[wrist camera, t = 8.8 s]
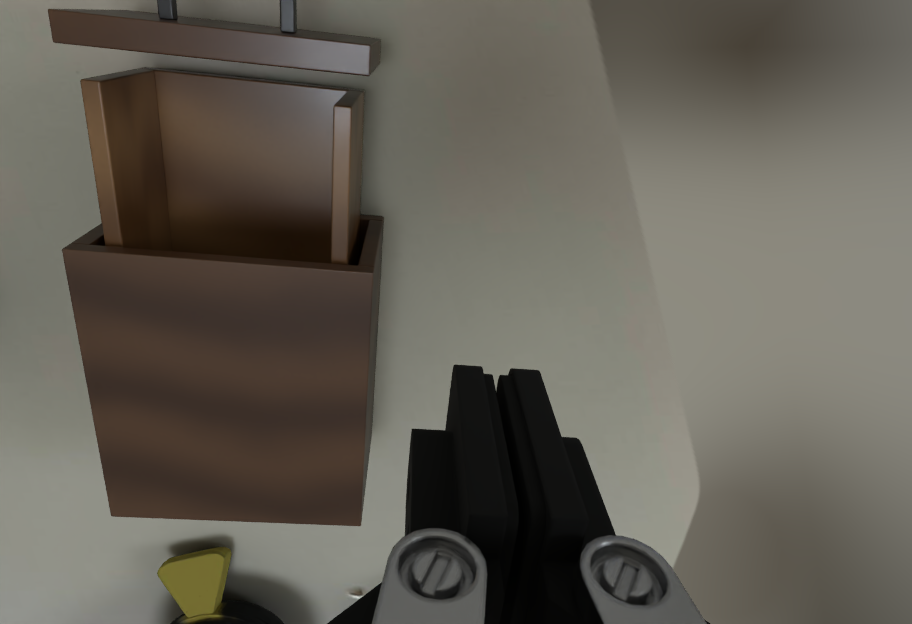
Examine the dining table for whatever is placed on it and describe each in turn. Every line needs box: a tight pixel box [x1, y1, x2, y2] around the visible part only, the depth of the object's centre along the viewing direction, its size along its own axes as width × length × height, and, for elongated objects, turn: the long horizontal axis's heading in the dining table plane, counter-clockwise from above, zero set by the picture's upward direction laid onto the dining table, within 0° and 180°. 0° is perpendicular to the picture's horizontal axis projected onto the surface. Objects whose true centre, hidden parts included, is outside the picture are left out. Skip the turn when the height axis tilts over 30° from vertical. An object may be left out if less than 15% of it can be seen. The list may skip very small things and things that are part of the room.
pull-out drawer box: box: [48, 0, 381, 266], centre depth 29 cm, size 20×12×7 cm, turn 174°
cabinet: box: [62, 215, 384, 526], centre depth 35 cm, size 16×14×9 cm
